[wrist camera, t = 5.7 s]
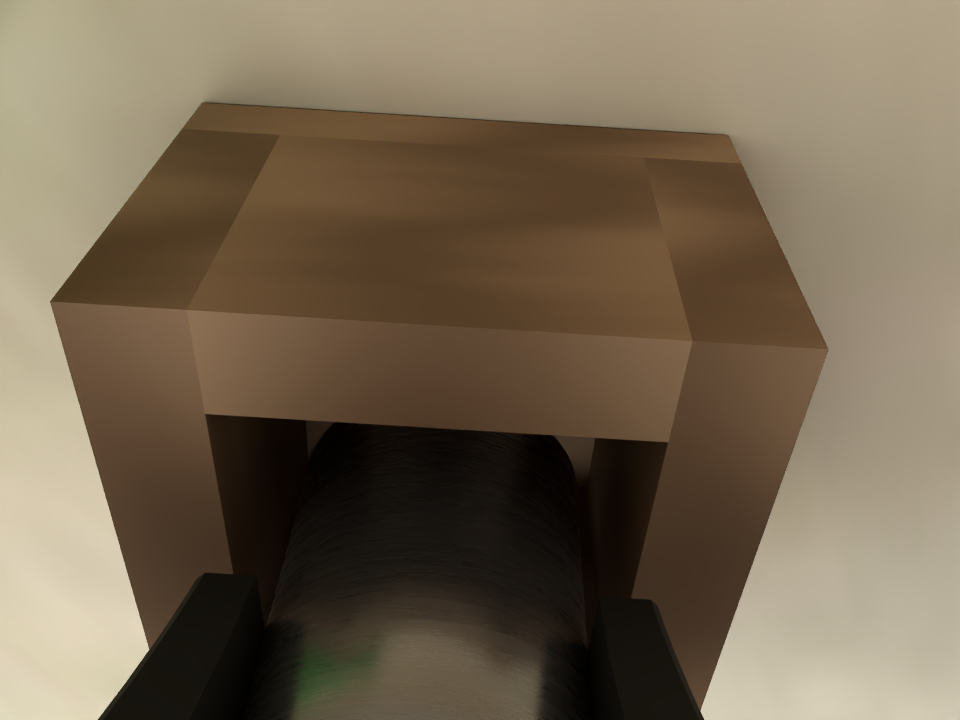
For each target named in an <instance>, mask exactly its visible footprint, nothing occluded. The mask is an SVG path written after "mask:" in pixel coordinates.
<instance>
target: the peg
mask: <svg viewBox="0 0 960 720" xmlns="http://www.w3.org/2000/svg"><path fill="white" fill-rule="evenodd" d="M242 720H592V711H591V696H590V681H589V665H588V650H587V635H586V620H585V604H584V589H583V574H582V559H581V543H580V528H579V513H578V498H577V483H576V476H575V472H574V468H573V465H572V463H571V461H570V458H569V456H568V454H567V453H566V451H565V450H564V448H563V447H562V445H561V444H560V442H559V441H558V440H557V439H556V438H555V437H554V436H553V435H541V434H525V433H508V432H492V431H476V430H459V429H443V428H427V427H410V426H394V425H378V424H361V423H345V422H334V423H333V424H332V425H331V426H330V427H329V428H328V429H327V430H326V431H325V432H324V434H323V435H322V436H321V438H320V439H319V441H318V442H317V444H316V446H315V448H314V450H313V452H312V455H311V458H310V462H309V466H308V470H307V473H306V477H305V481H304V485H303V489H302V493H301V496H300V500H299V504H298V508H297V512H296V516H295V519H294V523H293V527H292V531H291V535H290V539H289V542H288V546H287V550H286V554H285V558H284V562H283V565H282V569H281V573H280V577H279V581H278V585H277V588H276V592H275V596H274V600H273V604H272V608H271V611H270V615H269V619H268V623H267V627H266V631H265V634H264V638H263V642H262V646H261V650H260V654H259V657H258V661H257V665H256V669H255V673H254V677H253V680H252V684H251V688H250V692H249V696H248V700H247V703H246V707H245V711H244V715H243V719H242Z"/></svg>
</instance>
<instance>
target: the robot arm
mask: <svg viewBox="0 0 960 720" xmlns="http://www.w3.org/2000/svg"><path fill="white" fill-rule="evenodd" d="M264 634H265V627H264V621H263V614H262V608H261V601H260V595H259V588H258V582H257V576H255V575H239V574H222V573H206V572H205V573H204V574H202V575H201V576H199V577H198V578H197V579H196V581H195V582H194V584H193V585H192V587H191V588H190V590H189V592H188V593H187V595H186V596H185V598H184V599H183V601H182V602H181V604H180V605H179V607H178V608H177V610H176V612H175V613H174V615H173V616H172V618H171V619H170V621H169V622H168V624H167V625H166V626H165V628H164V629H163V631H162V632H161V634H160V635H159V637H158V638H157V640H156V641H155V642H154V644H153V645H152V647H151V648H150V650H149V651H148V652H147V654H146V655H145V657H144V658H143V659H142V661H141V662H140V664H139V665H138V666H137V668H136V669H135V671H134V672H133V673H132V675H131V676H130V678H129V679H128V680H127V682H126V683H125V685H124V686H123V687H122V689H121V690H120V691H119V692H118V694H117V695H116V696H115V698H114V699H113V700H112V702H111V703H110V704H109V706H108V707H107V708H106V710H105V711H104V712H103V714H102V715H101V716H100V717H99V719H98V720H242V719H243V715H244V711H245V707H246V703H247V700H248V696H249V692H250V688H251V684H252V680H253V677H254V673H255V669H256V665H257V661H258V657H259V654H260V650H261V646H262V642H263V638H264ZM588 665H589V681H590V696H591V711H592V720H704V718H703V716H702V714H701V712H700V709H699V707H698V705H697V703H696V700H695V698H694V696H693V694H692V691H691V689H690V687H689V685H688V682H687V680H686V678H685V675H684V673H683V671H682V668H681V666H680V663H679V661H678V658H677V656H676V653H675V651H674V649H673V646H672V643H671V641H670V638H669V635H668V633H667V630H666V628H665V625H664V622H663V619H662V616H661V613H660V610H659V607H658V606H657V605H656V604H655V603H654V602H653V601H652V600H649V599H632V598H616V597H600V596H599V600H598V604H597V609H596V614H595V619H594V624H593V629H592V634H591V639H590V643H589V648H588Z"/></svg>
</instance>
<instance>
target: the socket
mask: <svg viewBox="0 0 960 720" xmlns="http://www.w3.org/2000/svg"><path fill="white" fill-rule="evenodd" d="M50 303H51V306H52V310H53V313H54V317H55V320H56V324H57V327H58V331H59V334H60V338H61V341H62V345H63V348H64V352H65V355H66V359H67V362H68V366H69V369H70V373H71V376H72V380H73V383H74V387H75V390H76V394H77V397H78V401H79V404H80V408H81V411H82V415H83V418H84V422H85V425H86V429H87V432H88V436H89V439H90V443H91V446H92V450H93V453H94V457H95V460H96V464H97V467H98V471H99V474H100V478H101V481H102V485H103V488H104V492H105V495H106V499H107V502H108V506H109V509H110V513H111V516H112V520H113V523H114V527H115V530H116V534H117V537H118V541H119V544H120V548H121V551H122V555H123V558H124V562H125V566H126V569H127V573H128V576H129V580H130V583H131V587H132V590H133V594H134V597H135V601H136V604H137V608H138V611H139V615H140V618H141V622H142V625H143V629H144V632H145V636H146V639H147V643H148V646H149V650H150V648H151V647H152V645H153V644H154V642H155V641H156V640H157V638H158V637H159V635H160V634H161V632H162V631H163V629H164V628H165V626H166V625H167V624H168V622H169V621H170V619H171V618H172V616H173V615H174V613H175V612H176V610H177V608H178V607H179V605H180V604H181V602H182V601H183V599H184V598H185V596H186V595H187V593H188V592H189V590H190V588H191V587H192V585H193V584H194V582H195V581H196V579H197V578H198V577H199V576H201V575H202V574H204V573H205V572H206V573H222V574H239V575H255V576H257V582H258V588H259V595H260V601H261V608H262V614H263V621H264V627H265V631H266V627H267V623H268V619H269V615H270V611H271V608H272V604H273V600H274V596H275V592H276V588H277V585H278V581H279V577H280V573H281V569H282V565H283V562H284V558H285V554H286V550H287V546H288V542H289V539H290V535H291V531H292V527H293V523H294V519H295V516H296V512H297V508H298V504H299V500H300V496H301V493H302V489H303V485H304V481H305V477H306V473H307V470H308V466H309V462H310V458H311V455H312V452H313V450H314V448H315V446H316V444H317V442H318V441H319V439H320V438H321V436H322V435H323V434H324V432H325V431H326V430H327V429H328V428H329V427H330V426H331V425H332V424H333V423H334V422H345V423H361V424H378V425H394V426H410V427H427V428H443V429H459V430H476V431H492V432H508V433H525V434H541V435H553V436H554V437H555V438H556V439H557V440H558V441H559V442H560V444H561V445H562V447H563V448H564V450H565V451H566V453H567V454H568V456H569V458H570V461H571V463H572V465H573V468H574V472H575V476H576V483H577V498H578V513H579V528H580V543H581V559H582V574H583V589H584V604H585V620H586V635H587V650H588V648H589V643H590V639H591V634H592V629H593V624H594V619H595V614H596V609H597V604H598V600H599V596H600V597H616V598H632V599H649V600H652V601H653V602H654V603H655V604H656V605H657V606H658V607H659V610H660V613H661V616H662V619H663V622H664V625H665V628H666V630H667V633H668V635H669V638H670V641H671V643H672V646H673V649H674V651H675V653H676V656H677V658H678V661H679V663H680V666H681V668H682V671H683V673H684V675H685V678H686V680H687V682H688V685H689V687H690V689H691V691H692V694H693V696H694V698H695V700H696V703H697V705H698V707H699V709H700V710H701V707H702V704H703V702H704V699H705V696H706V693H707V690H708V688H709V685H710V682H711V679H712V676H713V673H714V671H715V668H716V665H717V662H718V659H719V657H720V654H721V651H722V648H723V645H724V642H725V640H726V637H727V634H728V631H729V628H730V626H731V623H732V620H733V617H734V614H735V611H736V609H737V606H738V603H739V600H740V597H741V595H742V592H743V589H744V586H745V583H746V580H747V578H748V575H749V572H750V569H751V566H752V564H753V561H754V558H755V555H756V552H757V549H758V547H759V544H760V541H761V538H762V535H763V533H764V530H765V527H766V524H767V521H768V518H769V516H770V513H771V510H772V507H773V504H774V502H775V499H776V496H777V493H778V490H779V487H780V485H781V482H782V479H783V476H784V473H785V471H786V468H787V465H788V462H789V459H790V456H791V454H792V451H793V448H794V445H795V442H796V440H797V437H798V434H799V431H800V428H801V425H802V423H803V420H804V417H805V414H806V411H807V409H808V406H809V403H810V400H811V397H812V394H813V392H814V389H815V386H816V383H817V380H818V378H819V375H820V372H821V369H822V366H823V363H824V361H825V358H826V355H827V352H828V347H827V345H826V343H825V341H824V339H823V337H822V335H821V333H820V330H819V328H818V326H817V324H816V322H815V320H814V318H813V315H812V313H811V311H810V309H809V307H808V305H807V303H806V301H805V298H804V296H803V294H802V292H801V290H800V288H799V286H798V283H797V281H796V279H795V277H794V275H793V273H792V271H791V269H790V266H789V264H788V262H787V260H786V258H785V256H784V254H783V252H782V249H781V247H780V245H779V243H778V241H777V239H776V237H775V234H774V232H773V230H772V228H771V226H770V224H769V222H768V220H767V217H766V215H765V213H764V211H763V209H762V207H761V205H760V203H759V200H758V198H757V196H756V194H755V192H754V190H753V188H752V185H751V183H750V181H749V179H748V177H747V175H746V173H745V171H744V168H743V166H742V164H741V162H740V160H739V158H738V156H737V154H736V151H735V149H734V147H733V145H732V143H731V141H730V139H729V136H727V135H711V134H695V133H679V132H662V131H646V130H630V129H614V128H598V127H582V126H566V125H550V124H534V123H518V122H502V121H486V120H470V119H453V118H437V117H421V116H405V115H389V114H373V113H357V112H341V111H325V110H309V109H293V108H277V107H260V106H244V105H228V104H212V103H202V104H201V105H200V106H199V108H198V109H197V110H196V112H195V113H194V114H193V115H192V117H191V118H190V119H189V121H188V122H187V123H186V125H185V126H184V127H183V129H182V130H181V131H180V132H179V134H178V135H177V136H176V138H175V139H174V140H173V142H172V143H171V144H170V146H169V147H168V148H167V149H166V151H165V152H164V153H163V155H162V156H161V157H160V159H159V160H158V161H157V163H156V164H155V165H154V166H153V168H152V169H151V170H150V172H149V173H148V174H147V176H146V177H145V178H144V180H143V181H142V182H141V183H140V185H139V186H138V187H137V189H136V190H135V191H134V193H133V194H132V195H131V197H130V198H129V199H128V201H127V202H126V203H125V204H124V206H123V207H122V208H121V210H120V211H119V212H118V214H117V215H116V216H115V218H114V219H113V220H112V221H111V223H110V224H109V225H108V227H107V228H106V229H105V231H104V232H103V233H102V235H101V236H100V237H99V238H98V240H97V241H96V242H95V244H94V245H93V246H92V248H91V249H90V250H89V252H88V253H87V254H86V255H85V257H84V258H83V259H82V261H81V262H80V263H79V265H78V266H77V267H76V269H75V270H74V271H73V272H72V274H71V275H70V276H69V278H68V279H67V280H66V282H65V283H64V284H63V286H62V287H61V288H60V289H59V291H58V292H57V293H56V295H55V296H54V297H53V299H52V300H51V301H50Z"/></svg>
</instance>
